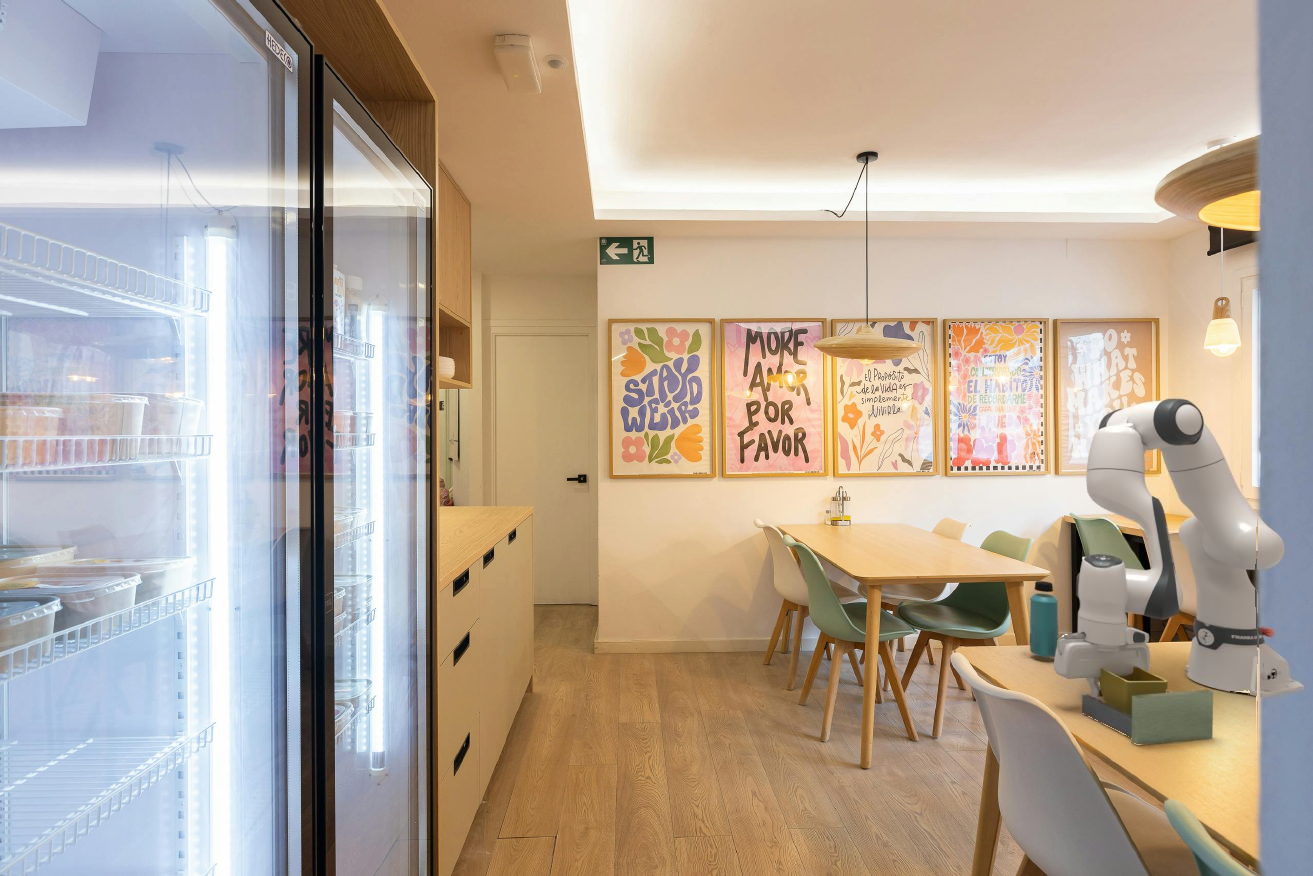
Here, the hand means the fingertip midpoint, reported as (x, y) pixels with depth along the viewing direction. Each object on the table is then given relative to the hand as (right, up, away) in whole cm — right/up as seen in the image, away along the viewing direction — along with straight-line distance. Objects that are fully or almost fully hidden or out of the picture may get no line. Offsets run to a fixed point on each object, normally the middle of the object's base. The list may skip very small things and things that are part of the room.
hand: (1100, 696), depth 144 cm
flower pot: (+3, -2, -5) cm, 6 cm away
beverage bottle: (+5, -2, +30) cm, 30 cm away
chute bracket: (+2, -2, -9) cm, 10 cm away
